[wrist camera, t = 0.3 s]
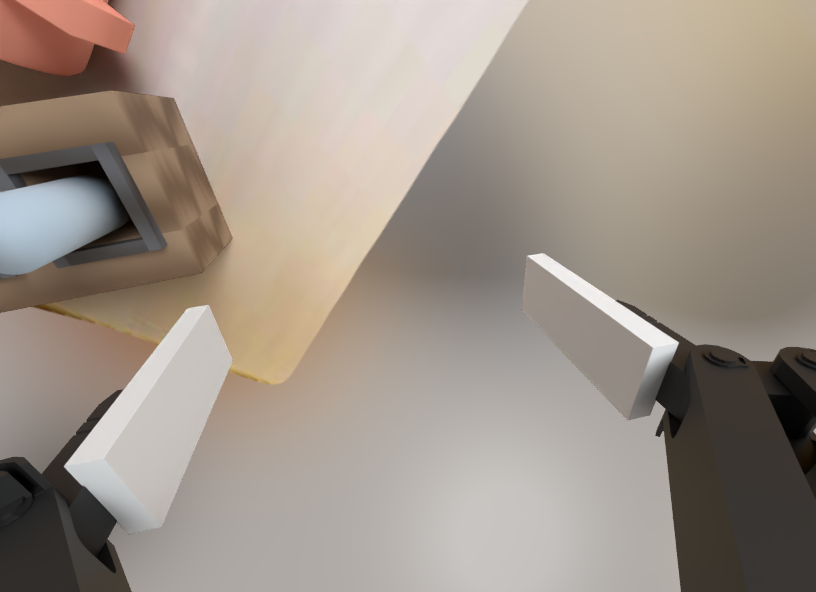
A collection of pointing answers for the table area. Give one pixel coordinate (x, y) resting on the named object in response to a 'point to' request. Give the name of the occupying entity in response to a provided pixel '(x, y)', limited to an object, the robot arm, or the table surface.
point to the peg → (55, 220)
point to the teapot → (59, 33)
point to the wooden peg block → (134, 183)
